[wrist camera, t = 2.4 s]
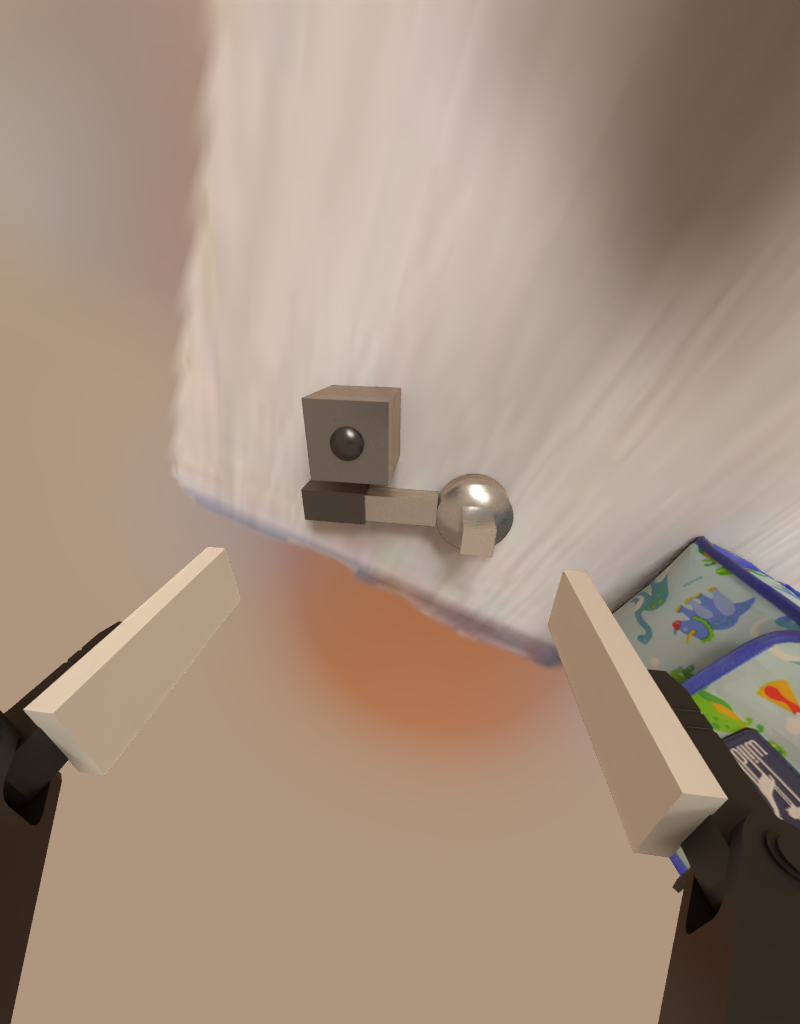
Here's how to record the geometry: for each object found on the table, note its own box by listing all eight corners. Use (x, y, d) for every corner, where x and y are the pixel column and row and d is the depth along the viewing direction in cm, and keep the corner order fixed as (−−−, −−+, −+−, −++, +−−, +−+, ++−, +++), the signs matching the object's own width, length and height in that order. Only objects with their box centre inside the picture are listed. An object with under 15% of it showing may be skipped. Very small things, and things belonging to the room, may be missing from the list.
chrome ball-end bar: (308, 463, 37) (278, 490, 31) (514, 476, 35) (530, 508, 28) (315, 523, 41) (290, 559, 34) (501, 538, 39) (513, 579, 32)
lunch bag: (680, 517, 35) (1126, 856, 12) (797, 580, 37) (1375, 979, 14) (546, 637, 45) (650, 940, 23) (643, 682, 47) (828, 1004, 24)
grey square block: (332, 385, 33) (300, 398, 25) (401, 387, 32) (388, 402, 25) (337, 452, 36) (309, 481, 29) (399, 456, 35) (387, 486, 28)
